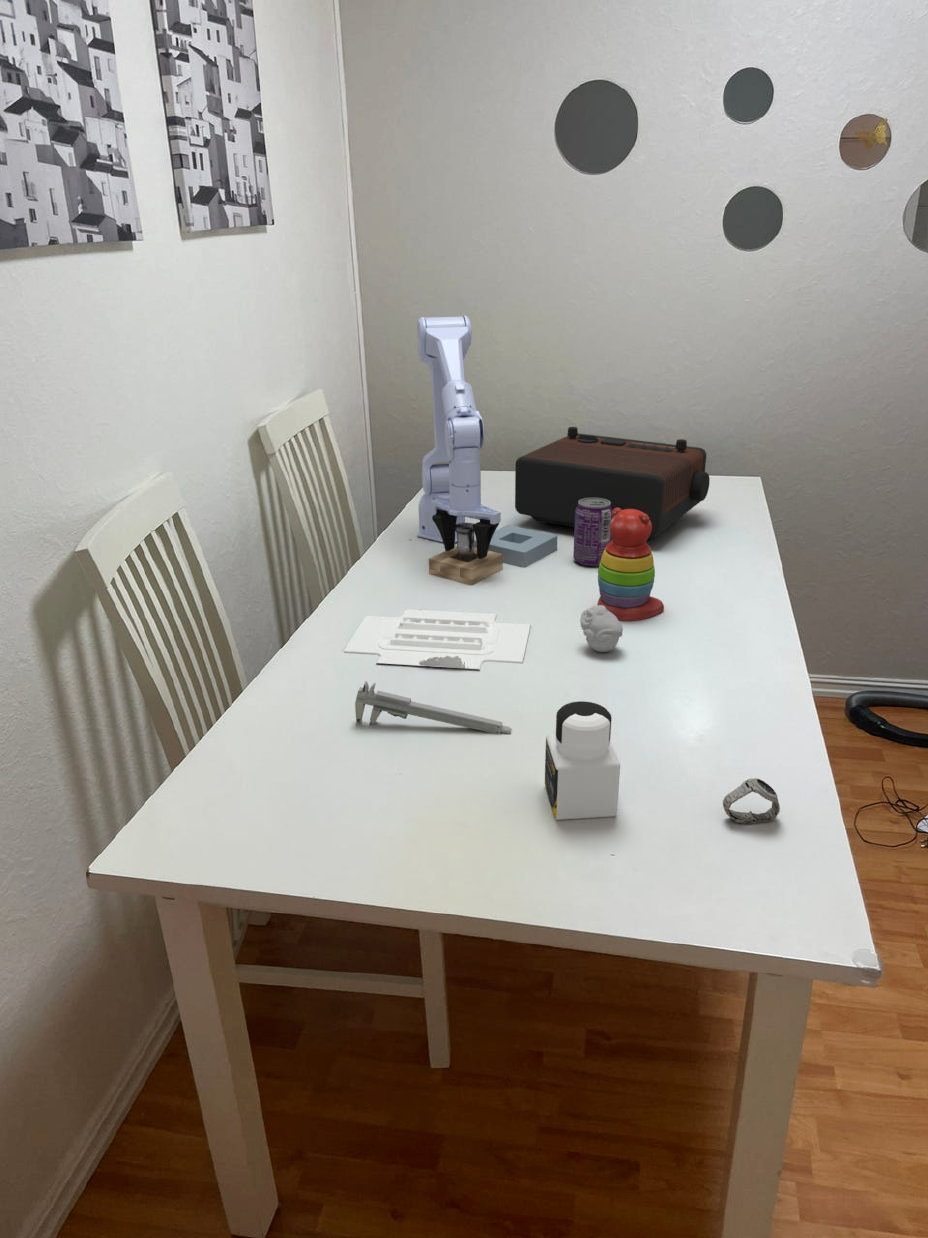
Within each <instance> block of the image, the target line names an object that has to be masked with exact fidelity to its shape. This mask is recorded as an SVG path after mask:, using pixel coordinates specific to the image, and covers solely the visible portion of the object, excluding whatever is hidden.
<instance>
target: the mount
mask: <svg viewBox="0 0 928 1238" xmlns="http://www.w3.org/2000/svg"><path fill="white" fill-rule="evenodd" d="M503 564H504V562H503V554H500V553H496V552H492V551H488V553H487V557H484V558H482V559H478V557H477V548H475V547H474V560H472V561H470V562H465V561H461V560H458V558H457V545H456V546H455V547H454V549H451V550H449V551H445V550H444V551H443V552H441V553H438V554H435V555H433V556H431V557H429V558H428V574H429V575H432V576H436V577H440V578H443V579H447V580H452V581H456V582H458V583H462V584H466V585H469V586H473V585H475V584H477V583H479V582H480V581H482V580H485V579H486V578H488V577H490V576H492V575H494V574H496V573H497V572H500V571H502V570H503V568H504V565H503Z"/></svg>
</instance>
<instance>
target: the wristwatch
mask: <svg viewBox="0 0 928 1238" xmlns="http://www.w3.org/2000/svg"><path fill="white" fill-rule="evenodd" d="M751 793H756V794H758V795H760V797H762V798H764V799H765V800H767V801H770V802H771V808H770V807H769V809H768V810H767V811H765V812H760V813H755V812H752V811H751V810H750V811H749V812H741V811H735V810H732V809H731V806H732V804H734V803H736V802H738V800H740V799H742V798H744V797H745V796H747V795H748V794H751ZM722 807H723V810H724V812H725V813H726V815H727V816H728V817H729V818H730V820H732V821H733V822H735V823H736V824H741V825H748V826H749V825H756V824H766V823H768V824H769V823H771V822H773V821H774V820H775V819H776V818H777V816H778V815H779V814H780V810H781V809H780V807H781V806H780V803H779V798H778V794H777V792H776V791H775V789H774V788H772V786H771V785H769V783H767V782H765V781H764V780H762V779H761V778H756V777H755V778H748V779H747V780H745V781H743V782H742V783H741V784H740V785H739V786H737V787H736V788H735V789H734V790H732V791H730V792H729V793H727V794H726V796H724V797H723V800H722Z"/></svg>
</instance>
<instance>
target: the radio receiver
mask: <svg viewBox="0 0 928 1238" xmlns="http://www.w3.org/2000/svg"><path fill="white" fill-rule="evenodd" d="M578 431H579V430H578V427H576V426H569V427H568V428H567V435H566V436H564V437H562V438H559V439H558V440H555V441H552V442H551V443H549V444H546V445H544V446H542V447H540V448H537V449H535V450H533V451H531V452H528V453H527V454H524V455H522V456H520V457H518V458H517V459H516V460H515V472H514V473H515V475H514V477H515V478H514V482H515V485H514V487H515V488H514V489H515V490H514V507H515V511H516V512H517V513H518V514H520V515H524V516H530V518H532V519H533V520H534V521H538V522H542V523H545V524H547V525H548V524H549V525H550V524H554V525H559V526H560V525H561V526H566V527H571V528H575V510H576V508H577V506H578V501H579V500H581V499H584V498H603V499H607V500H609V501H610V502H611V505H610V506H611V508H612V511H613V510H614V509H615V508H620V509H622V510H625V509H635V510H639V511H641V512H643V513H645V514H647V515H648V517H649V520H650V521H651V524H652V530H651V533H650V536H649V538H648V539H647V541H651V540H653V539H654V538H656V537H658V535H660V534H661V533H662V532H664V531H665V530H666V529H668V528H669V527H670V526H672V525H673V524H674V523H675V522H677V521H678V520H679V519H680V518H682V517H683V516H684V515H685V514H687V513H688V512H689V511H691V510H692V509H693V508H694V507H696V506H697V505H698V504H700V502H704V501H705V499H706V498H707V495H708V492H709V489H710V474H709V473H708V472H707V471H706V462H707V452H706V450H705V449H704V448H702V447H696V446H688V444H687V443H688V442H687V441H688V440H686V439H683V438H682V439H681V438H680V439H677V440H675V441H676V442H675V444H671V443H664V442H663V443H662V442H655V441H654V442H653V441H645V440H639V439H638V440H637V439H629V438H622V437H613V436H611V437H610V436H603V435H595V434H589V433H588V434H586V433H579V432H578Z"/></svg>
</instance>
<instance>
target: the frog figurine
mask: <svg viewBox="0 0 928 1238" xmlns="http://www.w3.org/2000/svg"><path fill="white" fill-rule="evenodd" d="M597 605H598V604H597ZM597 605H596V606H592V607H590V608H587V609H585V610H583V611H582V612H581V614H580V619H579V620H580V621H579V623H580V627H581V630H582V632H583V635H584V636H585V637H586V638H585V640H586V642H587V644H588V646H589V647H590V648H591V649H592V650H594V651H596V652H599V653H606V652H610V651H612V650H613V649H614V648H616V646H617V645H618V643H619V640H620V638H622V636H623V630H624V628H623V625H622V623H621V622H620V620H618V619H617V617H616V616H615V615H614V614H612V613H611V612H609V611H608V610H607V609H606V607H605V606H603V605H598V606H597Z"/></svg>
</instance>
